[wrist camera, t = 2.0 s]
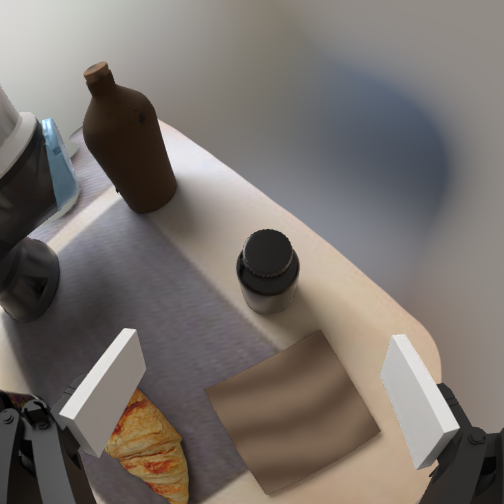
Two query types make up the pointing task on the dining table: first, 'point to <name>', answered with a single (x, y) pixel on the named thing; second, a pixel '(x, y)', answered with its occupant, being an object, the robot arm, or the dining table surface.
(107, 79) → the olive oil
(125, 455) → the croissant
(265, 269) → the supplement bottle
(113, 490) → the dining table surface
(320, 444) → the brown cloth napkin
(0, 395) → the supplement container
